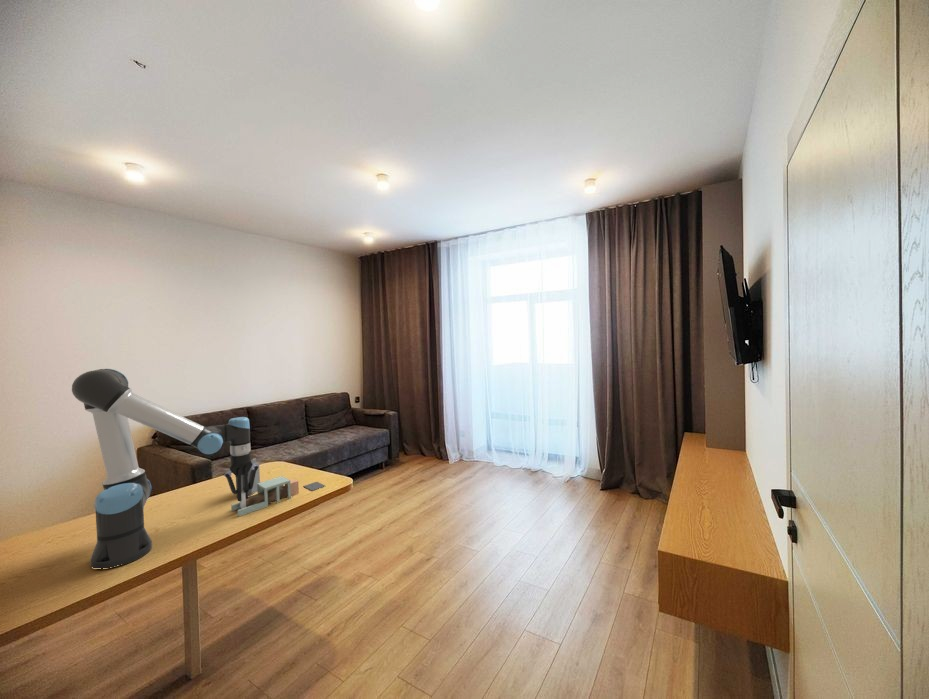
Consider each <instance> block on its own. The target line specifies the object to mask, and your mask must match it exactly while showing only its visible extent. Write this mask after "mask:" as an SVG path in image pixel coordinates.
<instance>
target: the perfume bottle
mask: <svg viewBox="0 0 929 699" xmlns="http://www.w3.org/2000/svg"><path fill="white" fill-rule="evenodd" d="M251 462H252V464H253V465H257V466H258V469H257V471H256V474H255V479H254V483H253V488H252V489H250V490H249V492H248V496H253V495H255V494H256V493H258V492H257V483H260V482H261V480H260V479H261V476H260V461H259V462H257V458H254V454H251ZM250 473H251V469H250V470H249V472H248V483H249V478H250ZM242 491H243V476H242V475H241V492H242Z"/></svg>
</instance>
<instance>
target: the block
mask: <svg viewBox="0 0 929 699" xmlns="http://www.w3.org/2000/svg"><path fill="white" fill-rule="evenodd" d="M289 480H290V485H291V497H292V496H295V495H298V494H299V493H300V491H299V481H298V480H297V479H296V478H292V479H289ZM284 486H286V487H287V484H284Z"/></svg>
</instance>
